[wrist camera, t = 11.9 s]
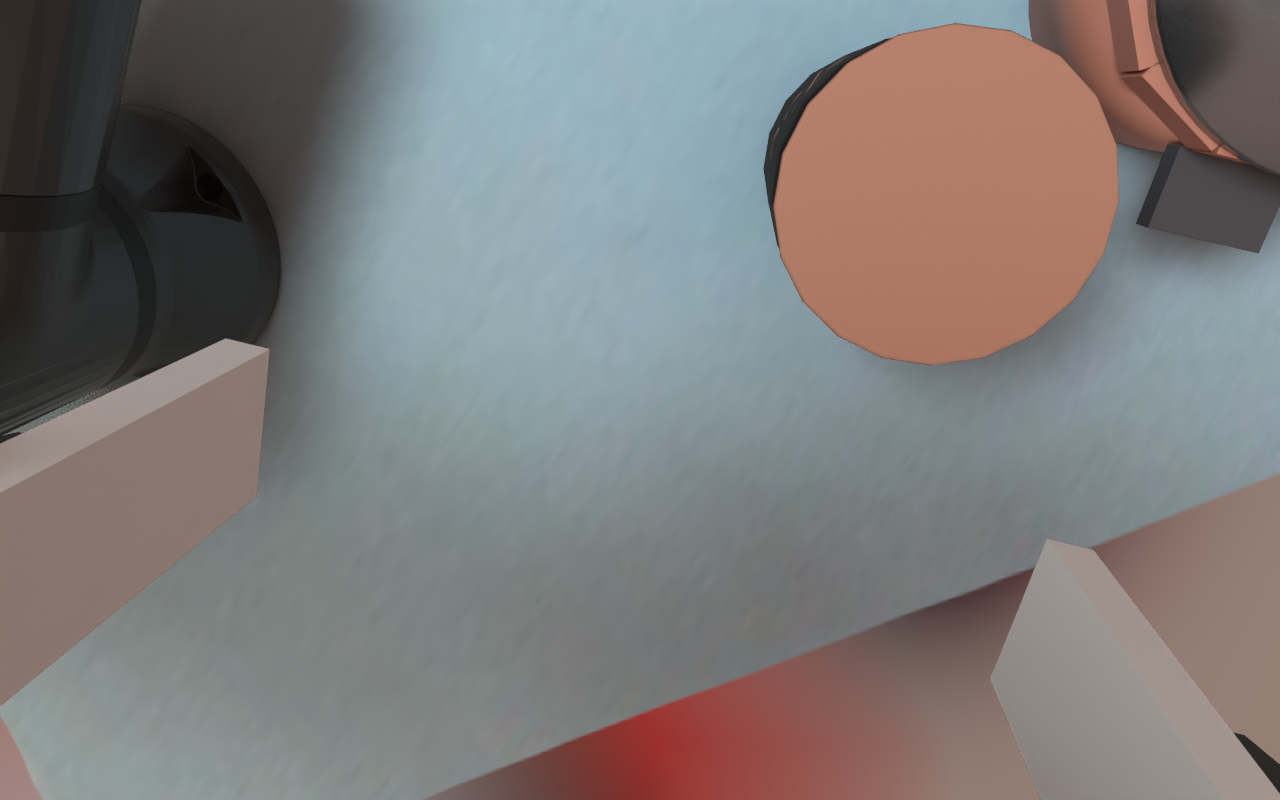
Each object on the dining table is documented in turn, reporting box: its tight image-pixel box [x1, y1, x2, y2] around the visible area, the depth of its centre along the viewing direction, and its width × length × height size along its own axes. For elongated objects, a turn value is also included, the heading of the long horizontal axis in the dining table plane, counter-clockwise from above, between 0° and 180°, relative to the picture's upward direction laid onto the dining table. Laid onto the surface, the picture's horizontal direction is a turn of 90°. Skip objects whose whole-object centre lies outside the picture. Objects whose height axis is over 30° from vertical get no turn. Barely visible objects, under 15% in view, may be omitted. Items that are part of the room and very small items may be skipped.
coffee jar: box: [764, 23, 1119, 365], centre depth 38 cm, size 11×11×18 cm
